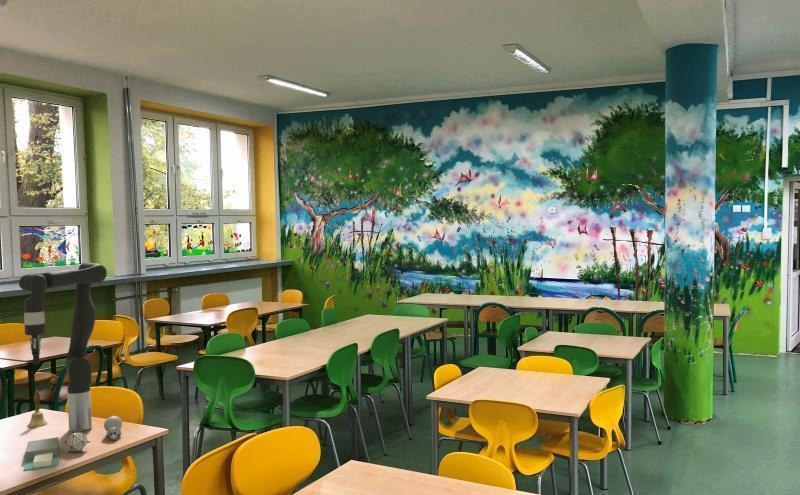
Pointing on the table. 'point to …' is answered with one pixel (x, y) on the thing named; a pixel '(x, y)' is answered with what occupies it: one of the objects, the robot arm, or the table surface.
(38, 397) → the hand bell
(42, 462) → the ivory tile
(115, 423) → the round bodied animal figurine
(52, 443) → the gray board
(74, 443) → the game die
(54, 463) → the teal mat
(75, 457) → the table surface
